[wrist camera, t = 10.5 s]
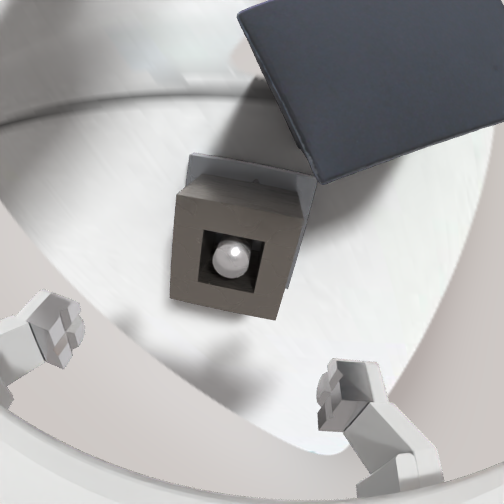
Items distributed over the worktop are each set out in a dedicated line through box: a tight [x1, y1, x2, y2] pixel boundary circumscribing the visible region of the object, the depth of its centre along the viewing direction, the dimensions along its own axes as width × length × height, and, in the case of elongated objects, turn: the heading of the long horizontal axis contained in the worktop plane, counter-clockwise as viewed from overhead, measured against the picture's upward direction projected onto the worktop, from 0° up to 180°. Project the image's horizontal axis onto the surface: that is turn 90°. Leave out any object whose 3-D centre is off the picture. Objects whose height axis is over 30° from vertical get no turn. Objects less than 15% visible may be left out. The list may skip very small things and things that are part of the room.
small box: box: [237, 0, 504, 185], centre depth 11 cm, size 11×6×10 cm, turn 116°
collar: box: [170, 173, 304, 320], centre depth 17 cm, size 6×6×5 cm
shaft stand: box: [186, 153, 317, 289], centre depth 17 cm, size 8×8×6 cm
